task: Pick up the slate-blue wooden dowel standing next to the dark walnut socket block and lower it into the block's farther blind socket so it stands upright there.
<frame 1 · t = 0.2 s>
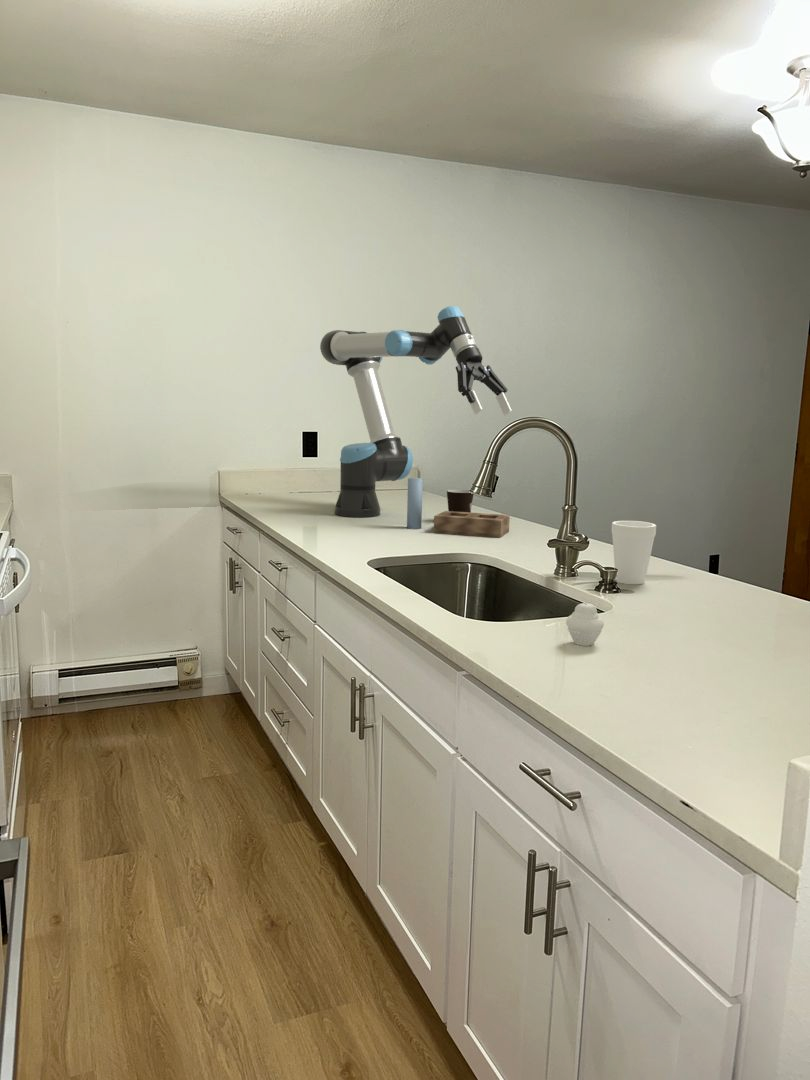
hand: (493, 412, 251), 35 cm above the worktop, tool tilted 35°, fingers open, 13 cm apart
white lidded urn: (583, 644, 141), on the worktop
peg: (414, 527, 257), on the worktop
socket block: (471, 532, 252), on the worktop
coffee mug: (461, 522, 272), on the worktop
foam cup: (630, 582, 190), on the worktop
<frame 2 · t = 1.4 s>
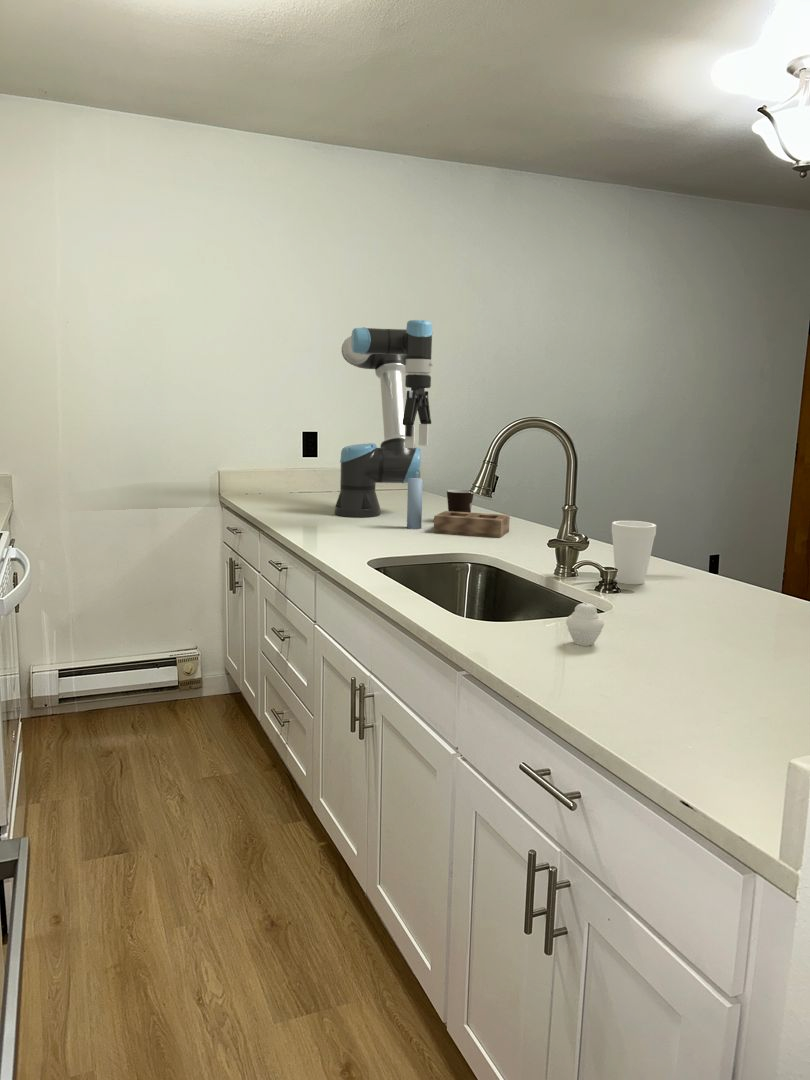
hand: (416, 446, 253), 25 cm above the worktop, tool pointing down, fingers open, 13 cm apart
nothing on the worktop moved.
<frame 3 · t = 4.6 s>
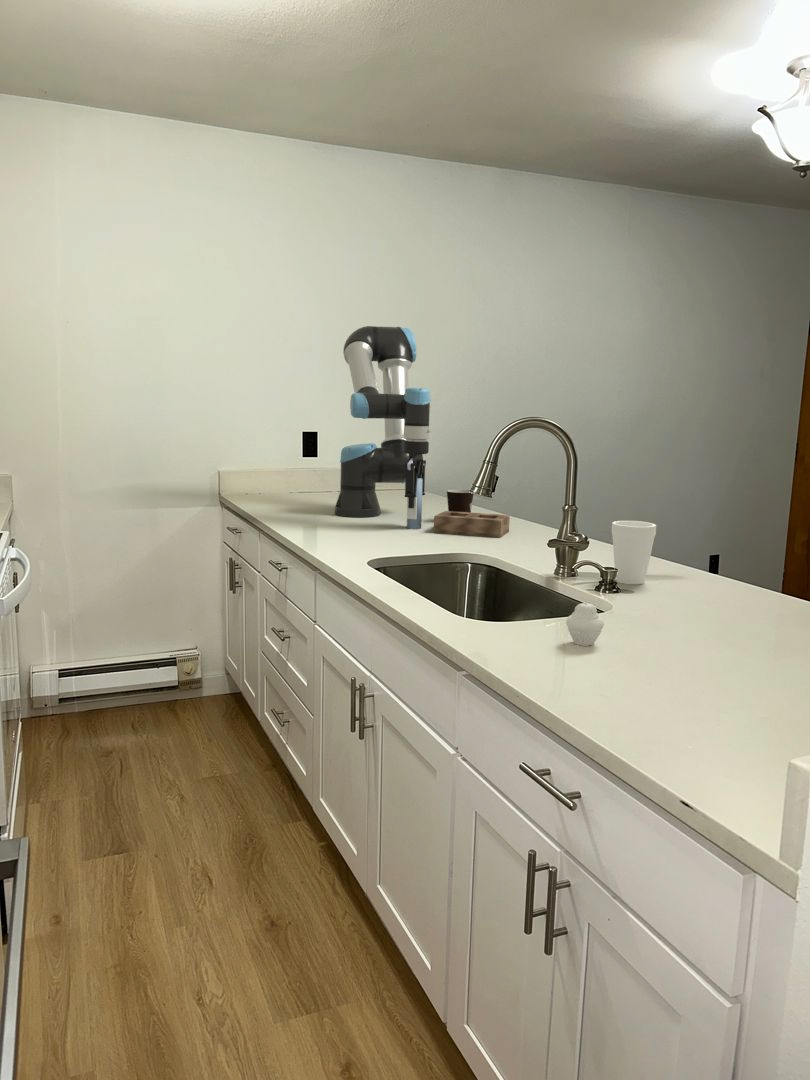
hand: (414, 517, 257), 3 cm above the worktop, tool pointing down, fingers closed on peg, 4 cm apart
peg: (414, 527, 257), on the worktop, touching gripper
everything else where it was.
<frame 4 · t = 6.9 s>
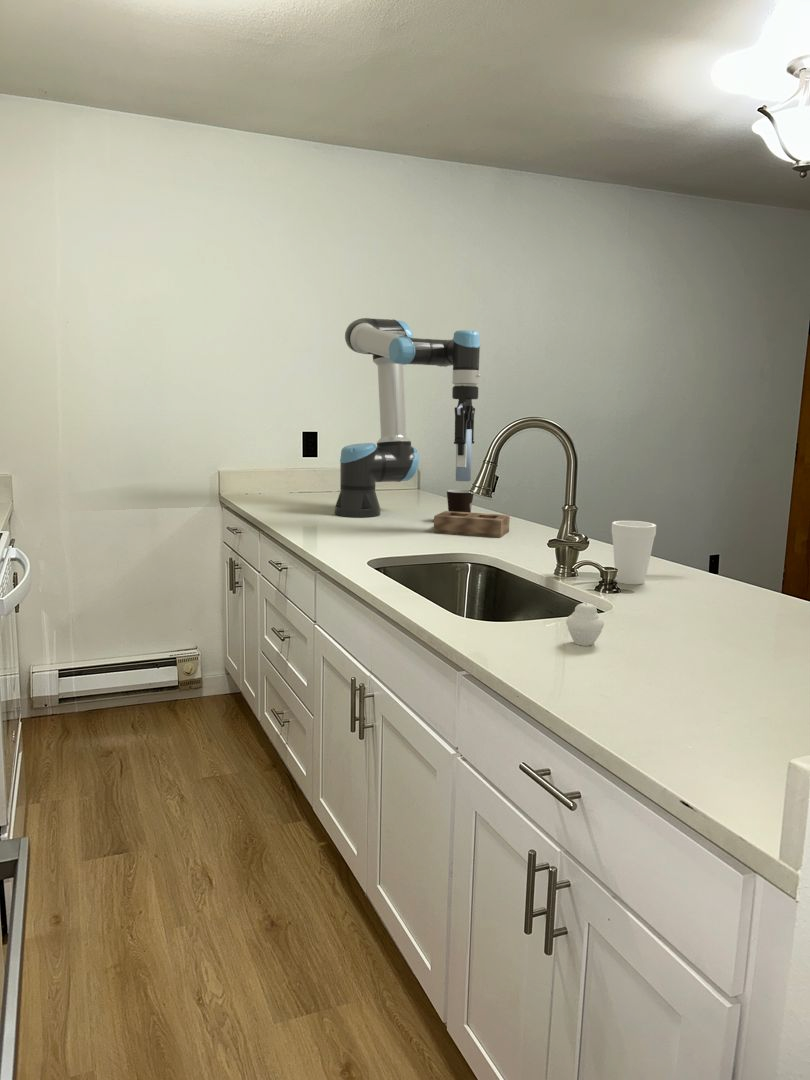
hand: (463, 466, 249), 20 cm above the worktop, tool pointing down, fingers closed on peg, 4 cm apart
peg: (463, 480, 249), point 15 cm above the worktop, touching gripper
everything else where it was.
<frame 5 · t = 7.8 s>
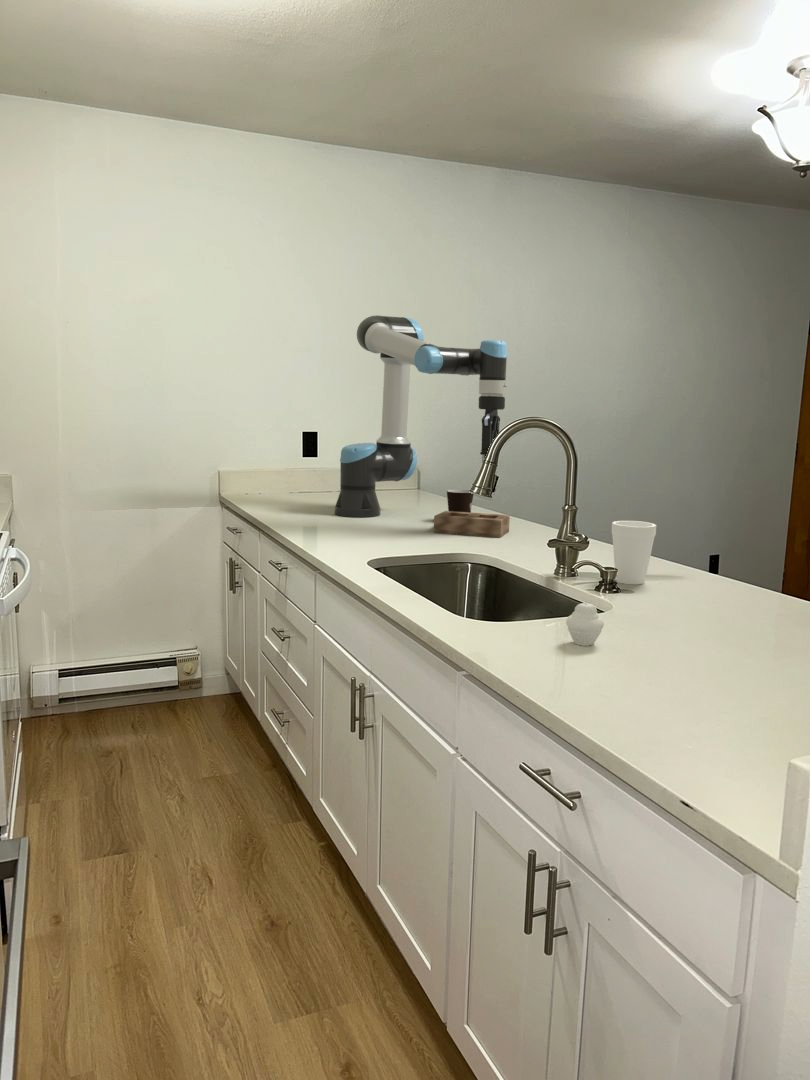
hand: (489, 476, 247), 17 cm above the worktop, tool pointing down, fingers closed on peg, 4 cm apart
peg: (488, 491, 248), point 13 cm above the worktop, touching gripper
everything else where it was.
when the fingers open (7 cm above the worktop, at t = 9.5 s): peg stays where it is, resting on socket block.
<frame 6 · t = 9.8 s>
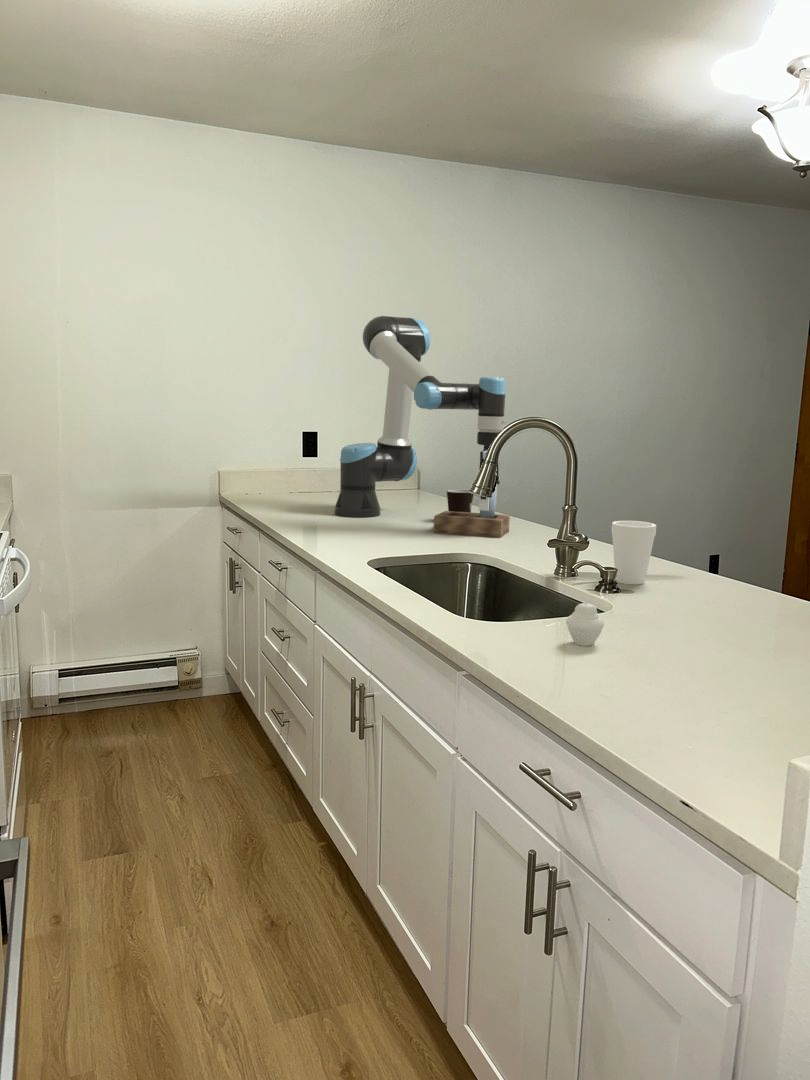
hand: (487, 508, 249), 8 cm above the worktop, tool pointing down, fingers open, 9 cm apart
peg: (486, 529, 250), point 1 cm above the worktop, touching socket block
everything else where it was.
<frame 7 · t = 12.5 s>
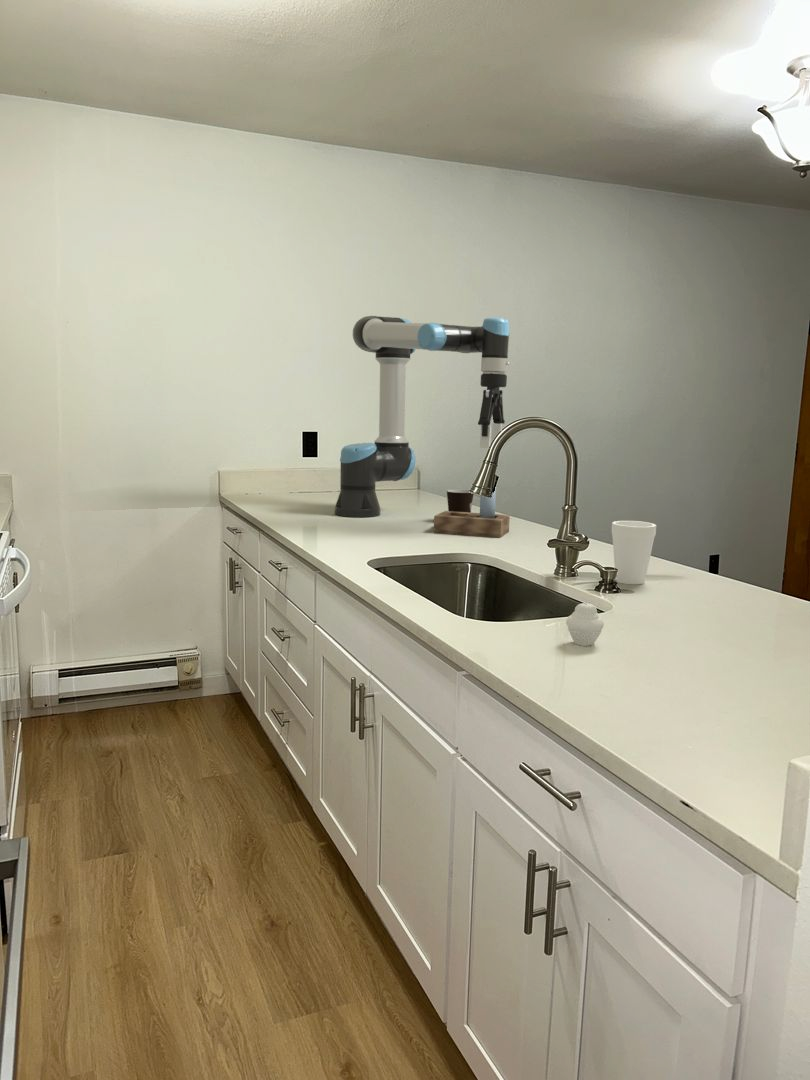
hand: (490, 446, 249), 25 cm above the worktop, tool pointing down, fingers open, 13 cm apart
nothing on the worktop moved.
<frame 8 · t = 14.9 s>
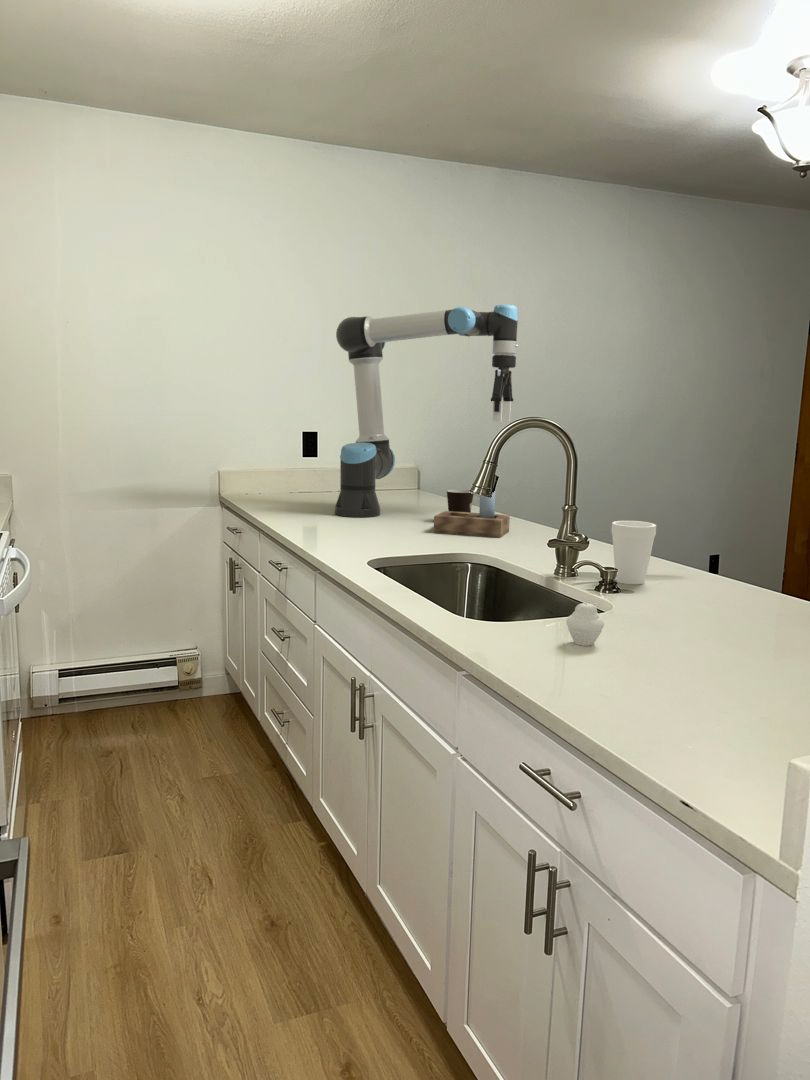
hand: (501, 422, 275), 32 cm above the worktop, tool pointing down, fingers open, 13 cm apart
nothing on the worktop moved.
at the end: peg 0.1 cm from the target spot on the socket block, point 1.0 cm above the socket block's base; peg tilted 1°; the gripper is holding nothing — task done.
